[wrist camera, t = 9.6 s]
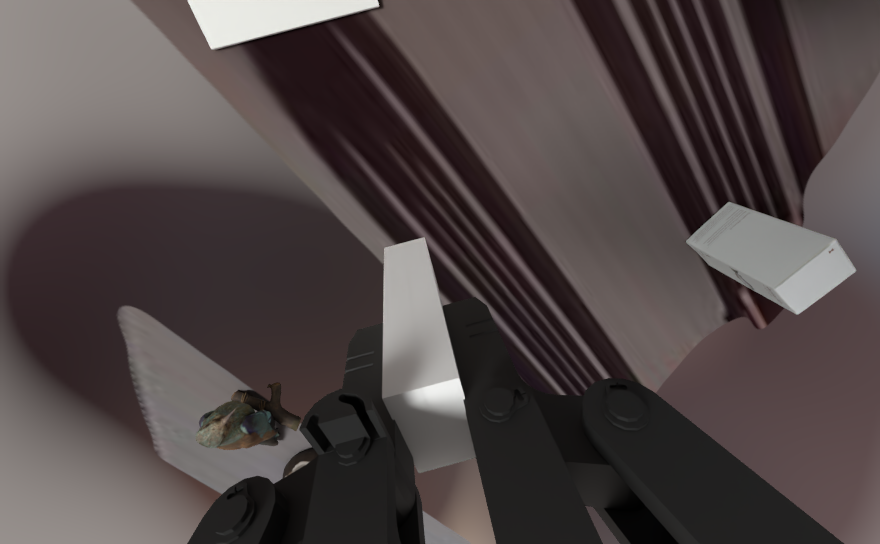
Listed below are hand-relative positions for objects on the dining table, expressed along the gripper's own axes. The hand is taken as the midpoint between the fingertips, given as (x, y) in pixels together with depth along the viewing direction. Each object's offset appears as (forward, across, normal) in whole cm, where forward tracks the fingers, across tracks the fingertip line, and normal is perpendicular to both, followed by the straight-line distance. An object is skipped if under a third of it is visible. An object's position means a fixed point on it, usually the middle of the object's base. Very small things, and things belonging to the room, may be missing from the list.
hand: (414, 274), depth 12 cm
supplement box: (+27, +41, -22) cm, 54 cm away
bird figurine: (+27, -29, -29) cm, 49 cm away
